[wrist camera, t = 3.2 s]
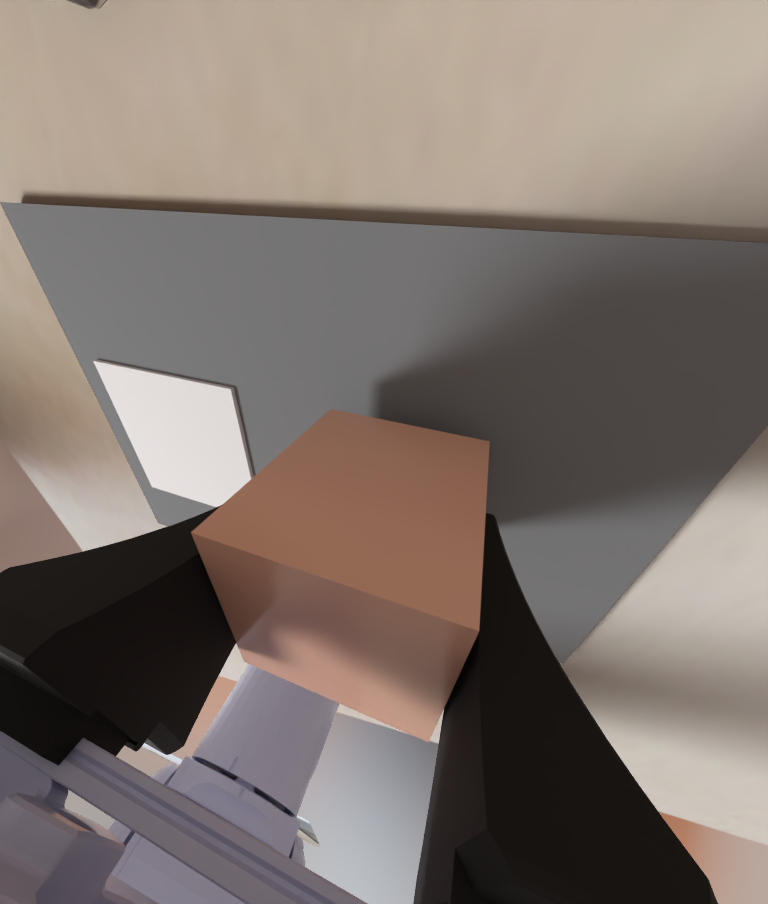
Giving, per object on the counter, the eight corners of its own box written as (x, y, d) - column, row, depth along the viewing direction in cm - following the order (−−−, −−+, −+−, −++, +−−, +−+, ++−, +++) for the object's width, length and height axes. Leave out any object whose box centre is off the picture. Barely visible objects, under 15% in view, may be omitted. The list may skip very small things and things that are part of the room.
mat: (561, 650, 16) (564, 667, 16) (165, 517, 22) (155, 524, 22) (887, 251, 6) (928, 250, 6) (18, 204, 13) (-7, 201, 12)
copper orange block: (456, 554, 12) (428, 742, 8) (334, 519, 14) (244, 661, 9) (489, 441, 9) (479, 631, 5) (330, 408, 11) (190, 532, 6)
